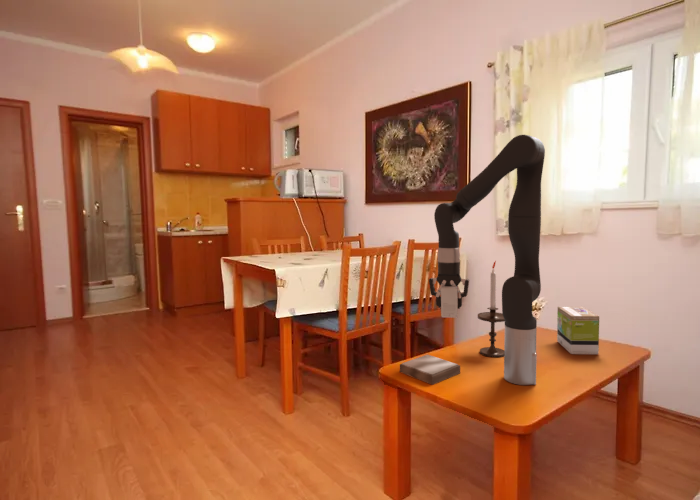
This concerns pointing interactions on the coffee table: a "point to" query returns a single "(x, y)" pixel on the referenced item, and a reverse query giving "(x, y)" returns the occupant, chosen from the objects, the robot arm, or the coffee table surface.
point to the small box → (449, 302)
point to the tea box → (578, 330)
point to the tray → (430, 369)
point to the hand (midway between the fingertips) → (448, 307)
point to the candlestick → (492, 320)
